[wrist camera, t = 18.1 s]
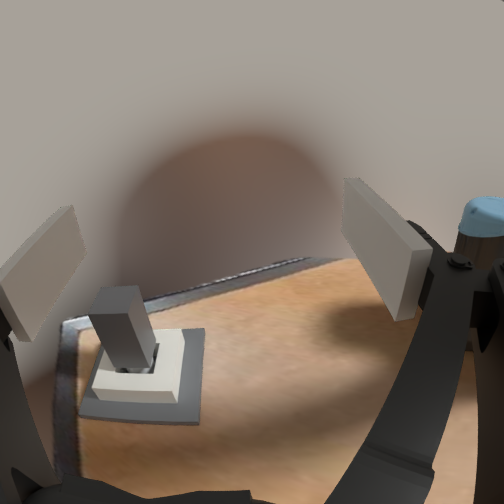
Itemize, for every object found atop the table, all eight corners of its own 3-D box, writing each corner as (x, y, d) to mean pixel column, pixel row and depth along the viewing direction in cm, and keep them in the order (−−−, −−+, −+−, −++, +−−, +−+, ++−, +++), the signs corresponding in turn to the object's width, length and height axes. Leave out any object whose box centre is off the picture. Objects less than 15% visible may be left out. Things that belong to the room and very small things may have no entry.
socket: (205, 332, 53) (201, 314, 51) (199, 424, 37) (193, 410, 35) (108, 335, 52) (101, 318, 50) (81, 417, 37) (68, 402, 35)
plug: (162, 357, 47) (137, 285, 39) (157, 385, 42) (127, 313, 35) (130, 357, 46) (100, 287, 39) (123, 384, 42) (87, 314, 35)
